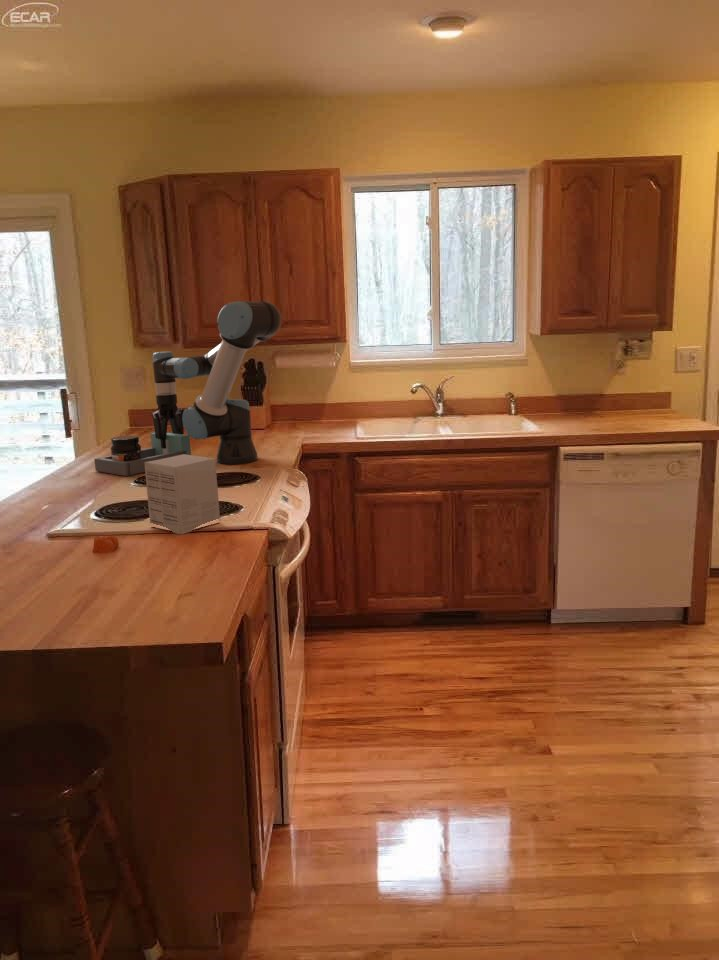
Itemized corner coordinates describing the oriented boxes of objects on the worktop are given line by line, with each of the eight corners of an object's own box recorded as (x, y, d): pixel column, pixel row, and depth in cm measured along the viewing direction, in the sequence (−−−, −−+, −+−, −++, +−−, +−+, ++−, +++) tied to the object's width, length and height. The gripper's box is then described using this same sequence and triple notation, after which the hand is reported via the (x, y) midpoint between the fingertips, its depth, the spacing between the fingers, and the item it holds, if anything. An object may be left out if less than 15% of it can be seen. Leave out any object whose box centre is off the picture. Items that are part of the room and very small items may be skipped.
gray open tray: (191, 461, 292) (189, 435, 290) (125, 476, 270) (122, 447, 267) (161, 457, 303) (158, 431, 301) (95, 470, 281) (92, 443, 278)
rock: (139, 543, 192) (138, 527, 191) (124, 559, 180) (122, 541, 180) (91, 544, 193) (89, 528, 192) (72, 560, 181) (70, 542, 180)
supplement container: (111, 474, 274) (108, 440, 272) (113, 468, 284) (110, 436, 282) (142, 472, 277) (139, 438, 274) (143, 466, 287) (140, 434, 284)
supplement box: (189, 516, 214) (184, 453, 211) (221, 523, 206) (216, 458, 202) (149, 527, 204) (142, 461, 201) (180, 535, 196) (174, 467, 192)
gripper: (177, 391, 299) (182, 451, 304) (140, 395, 286) (146, 458, 291) (190, 391, 295) (195, 452, 300) (154, 396, 281) (159, 460, 286)
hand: (171, 455), depth 295 cm, fingers closed on gray open tray, 4 cm apart
